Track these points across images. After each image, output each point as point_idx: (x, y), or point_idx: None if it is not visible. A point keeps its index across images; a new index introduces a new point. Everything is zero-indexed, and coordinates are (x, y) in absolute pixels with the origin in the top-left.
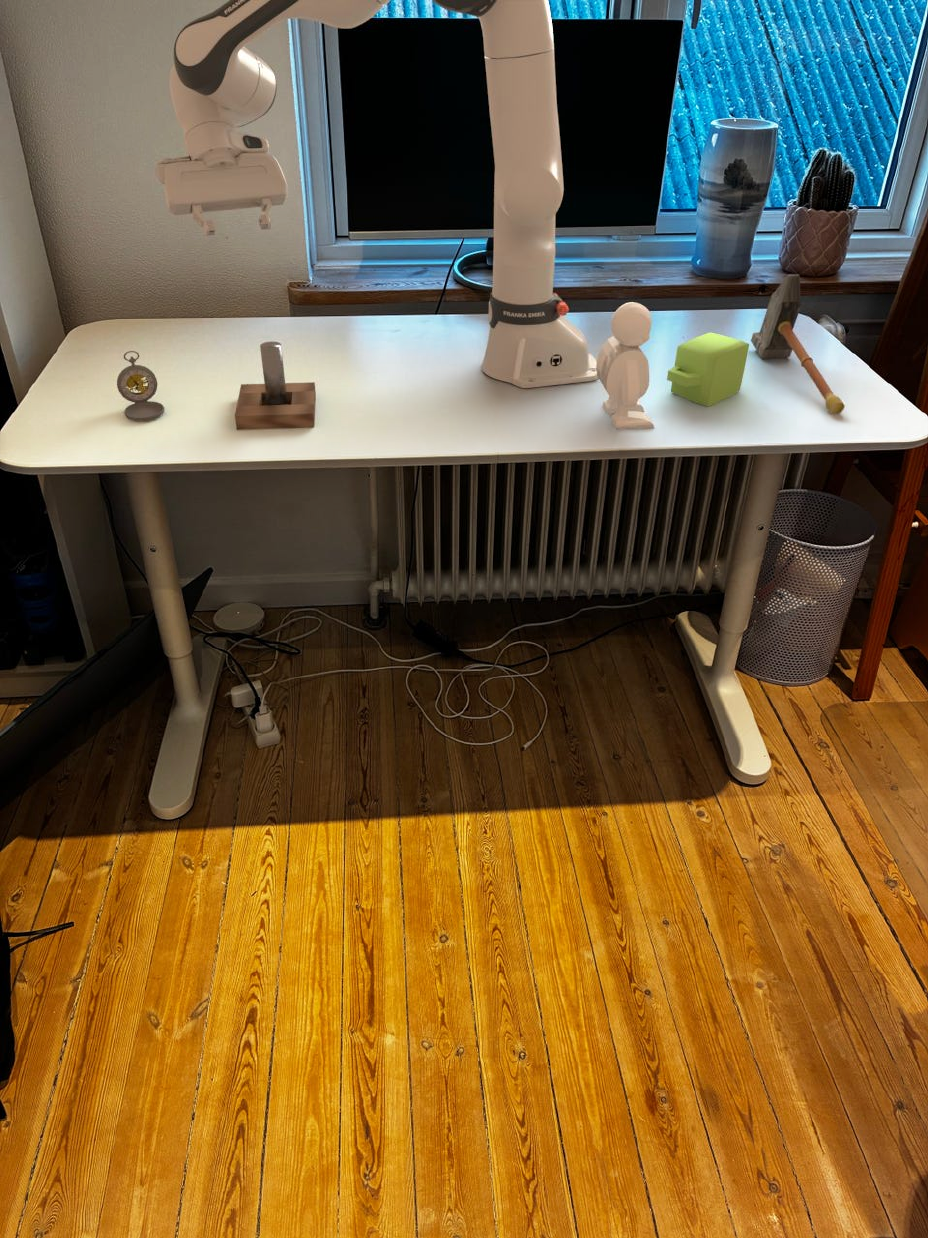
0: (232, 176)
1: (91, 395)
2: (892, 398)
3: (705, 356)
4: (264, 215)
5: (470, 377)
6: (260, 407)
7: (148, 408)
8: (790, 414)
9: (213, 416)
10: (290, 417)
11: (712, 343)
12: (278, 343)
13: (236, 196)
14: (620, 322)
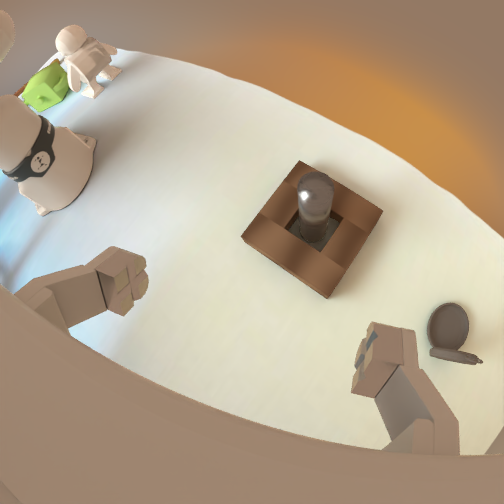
0: (15, 493)
1: (461, 418)
2: None
3: (54, 66)
4: (100, 268)
5: (99, 183)
6: (345, 212)
7: (438, 340)
8: (66, 66)
9: (386, 270)
10: None
11: (37, 78)
12: (300, 187)
13: (125, 377)
14: (79, 29)
